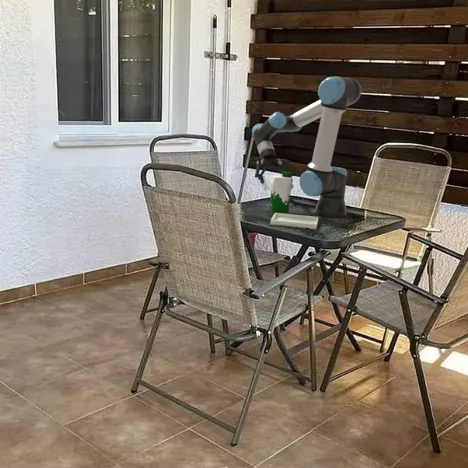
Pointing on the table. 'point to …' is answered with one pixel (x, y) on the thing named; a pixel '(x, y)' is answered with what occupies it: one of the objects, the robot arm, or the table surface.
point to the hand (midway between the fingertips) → (279, 188)
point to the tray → (294, 221)
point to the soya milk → (280, 193)
